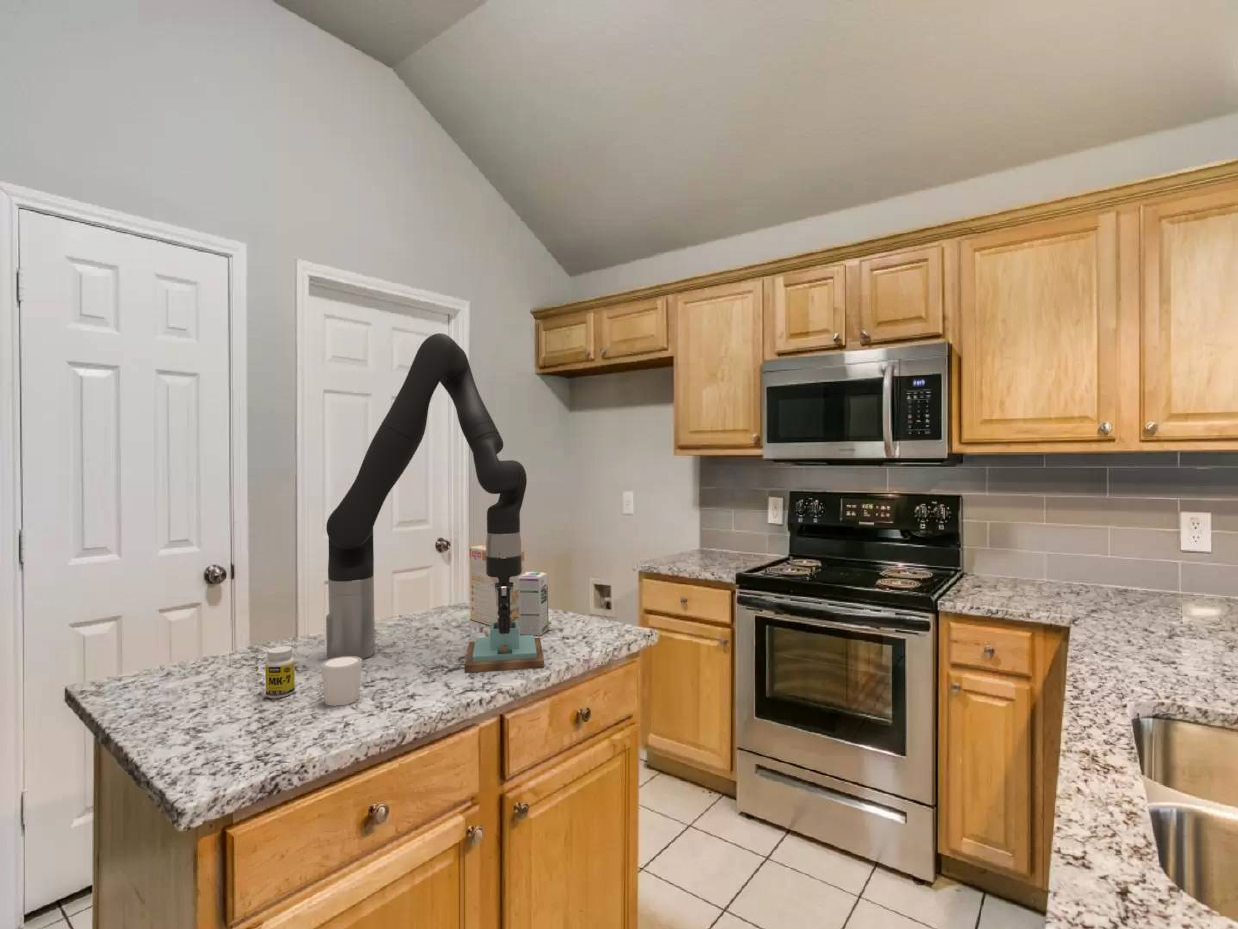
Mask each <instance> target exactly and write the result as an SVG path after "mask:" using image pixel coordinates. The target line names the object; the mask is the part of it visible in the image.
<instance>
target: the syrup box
mask: <svg viewBox="0 0 1238 929" xmlns="http://www.w3.org/2000/svg"><path fill="white" fill-rule="evenodd" d="M548 586H549V585H548V573H547V572H546V571H545V572H544V571H526V572H524V574H523V575H521V576H519V577H518V591H519V635H520V636H522V635H537V636H538V637H541V635H542V636H543V635H544V634H545V633H546V632H547V631H548V630H549V628H550V626H549V591H548V588H549V587H548ZM537 636H536V637H537Z"/></svg>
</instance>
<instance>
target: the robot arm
mask: <svg viewBox="0 0 1238 929" xmlns="http://www.w3.org/2000/svg"><path fill="white" fill-rule="evenodd" d="M468 359H469V358H468V356H467V354H466V352H465V351H464V349H462V347H461V346H459V344H458V343H456V341H455V340H454V339H452V337H450V336H449V335H448V334H445V333H440V332H439V333H434V334H431V335H430V336H428V337H427V338H425V340H424V341H423V342H422V343H421V345H420V346H419V348H418V350H417V351H416V354H415V357H414V358H413V361H412V363H411V365H410V368H409V370H408V372H407V375H406V377H405V379H404V382H403V384H402V386H401V387H400V389H399V392H398V393H397V396H396V397H395V398H394V401H393V403H392V404H391V406H390V408H389V410H388V412H387V414H386V416H385V417H384V418H383V420H382V422H381V424H380V426H379V427H378V429H377V431H376V432H375V434H374V435H373V436H374V437H373V438H372V440H371V442H370V444H369V446H368V449H367V451H366V452H365V455H364V457H363V460H362V462H361V465H360V468H359V471H358V473H357V475H356V478H355V479H354V482H353V483H352V484H351V487H350V488H349V489H348V491H347V493H346V494H345V496H344V497H343V498H342V500H341V502H340V503H339V504H338V505H337V507H336V508H335V509H333V511H332V512H331V514H330V515H329V517H328V518H327V520H326V525H325V526H326V533H327V536H328V560H327V562H328V564H327V581H328V583H327V584H328V586H327V588H328V614H327V615H326V617H325V624H326V625H325V627H326V628H325V629H326V630H325V631H326V632H325V634H326V636H325V638H326V660H329V659H332V658H337V657H343V656H355V657H359V658H361V659H362V660H363V659H367V658H369V657H372V656H373V655H375V652H376V650H375V649H376V638H375V637H376V635H375V634H376V633H375V632H376V631H375V630H376V629H375V628H376V627H375V625H376V624H375V623H376V622H375V582H374V581H375V580H374V579H375V578H374V577H375V576H374V572H375V571H374V570H375V568H374V566H375V565H374V563H375V560H374V559H375V557H374V556H375V554H374V526H375V524H376V521H377V518H378V516H379V515H380V514H379V513H381V512H380V511H381V509H382V507H383V505H384V502H385V501H386V499H387V497H388V495H389V493H390V492H391V491H392V489H393V487H394V486H395V485H396V483H397V482H398V480H399V479H400V478H401V476H402V475H403V474H404V472H405V470H406V468H408V465H409V464H410V463H411V461H412V459H413V457H414V455H415V454H416V452H417V450H418V448H419V446H420V444H421V443H422V441H423V438H424V435H425V431H426V427H427V420H428V414H429V407H430V403H431V400H432V398H433V394H434V392H435V391H436V389H437V387H438V385H439V383H440V384H441V385H442V386H443V388H444V389H445V390H446V392H447V393H448V395H449V397H450V398H451V400H452V402H453V405H454V408H455V409H456V415H457V420H458V423H459V427H460V429H461V431H462V434H463V437H464V438H465V440H466V442H467V444H468V446H469V449H470V450H471V452H472V457H473V463H474V467H475V474H476V478H477V482H478V483H479V485H480V487H481V488H482V489H483V490H484V491H485V492H487V493H488V494H492V495H498V494H499V497H498V500H497V502H496V503H494V504H492V505H490V506H489V507H488V508H487V510H486V539H485V545H486V574H487V575H488V576H489V577H497V578H498V579H499V582H498V583H495V594H496V606H498V616H499V633H500V634H508V633H509V632H510V614H511V611H510V606H511V605H512V593H513V582H510V577H515V576H518V575H520V574H521V572H522V567H521V549H522V539H521V537H522V536H521V520H520V519H521V508H522V505H523V503H524V498H525V493H526V488H527V485H528V484H527V482H528V479H527V472H526V470H525V467H524V465H523V464H522V463H521V462H519V461H517V460H514V459H513V460H512V459H510V460H509V459H508V460H500V459H499V458H498V456H497V455H499V454H500V453H501V451H502V450H503V448H504V441H503V438H502V436H501V434H500V432H499V429H498V428H497V426H496V424H495V422H494V420H493V418H492V417H491V414H490V412H489V410H488V409H487V407H486V405H485V403H484V401H483V399H482V397H481V395H480V393H479V390H478V387H477V384H476V382H475V380H474V376H473V373H472V370H471V369H472V368H471V366H470V363H469V360H468Z"/></svg>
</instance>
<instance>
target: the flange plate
mask: <svg viewBox="0 0 1238 929" xmlns="http://www.w3.org/2000/svg"><path fill="white" fill-rule="evenodd" d="M489 632H490V633H489V637H476V638H475V640H474V642H475V645H474V651H473V662H489V661H505V660H521V659H537V656H536V646H535V639H534V638H535V636H534V635H520V630H519V622H518V621H512V628H510V632H509V633H508V634H500V633H499V629H498V625H497V622H491V626H490V629H489ZM503 645H507V654H502V646H503Z"/></svg>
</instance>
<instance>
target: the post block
mask: <svg viewBox="0 0 1238 929" xmlns="http://www.w3.org/2000/svg"><path fill="white" fill-rule="evenodd" d="M497 625H498V629H499V618H498V619H497ZM510 628H512V618H511V617H510ZM534 639H535V646H536V656H537V659H521V660H505V661H489V662H473V651H474V645H475V641H468V645H467V650H466V656H465V662H464V673H465V674H468V673H484V672H500V670H501V671H512V670H514V671H515V670H529V669H544V668H545V657H544V652H543V648H542V641H541V637H534ZM502 654H507V645H503V646H502Z"/></svg>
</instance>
